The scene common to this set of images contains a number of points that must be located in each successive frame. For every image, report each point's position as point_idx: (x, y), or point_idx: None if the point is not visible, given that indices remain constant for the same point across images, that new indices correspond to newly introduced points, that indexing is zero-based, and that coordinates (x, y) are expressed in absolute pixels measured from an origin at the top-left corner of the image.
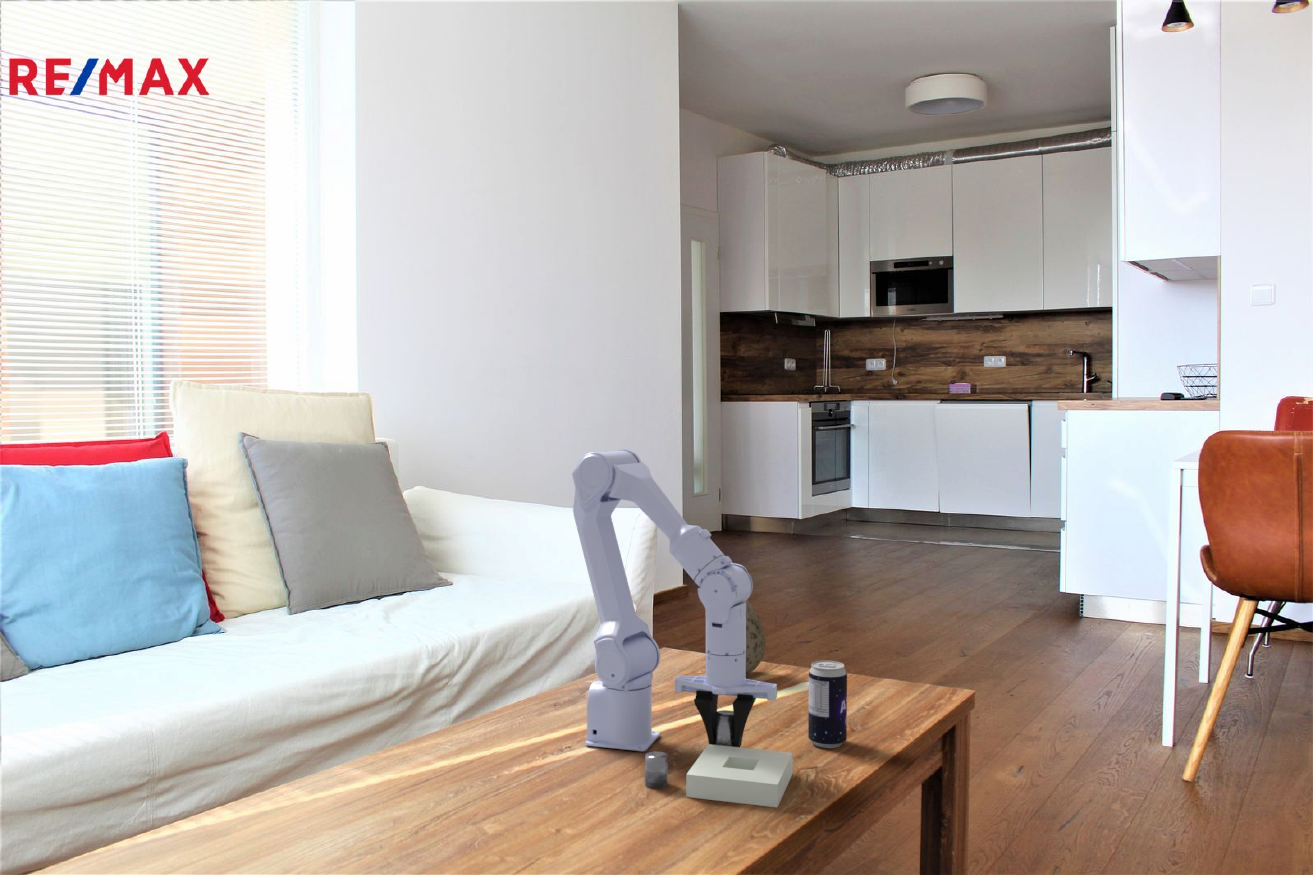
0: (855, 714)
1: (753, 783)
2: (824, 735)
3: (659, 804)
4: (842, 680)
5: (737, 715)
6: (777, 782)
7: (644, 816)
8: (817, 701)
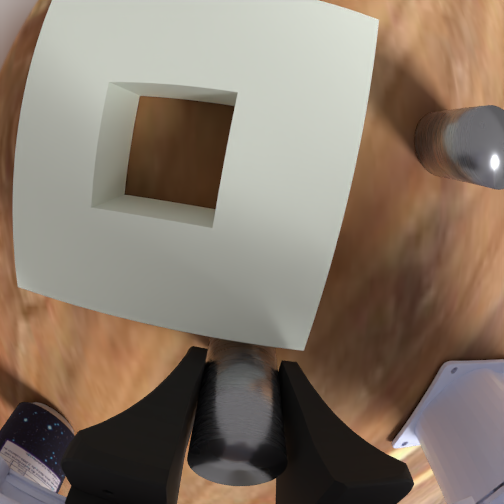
0: (67, 489)
1: None
2: (30, 417)
3: (412, 12)
4: None
5: (159, 428)
6: (49, 11)
7: None
8: None
